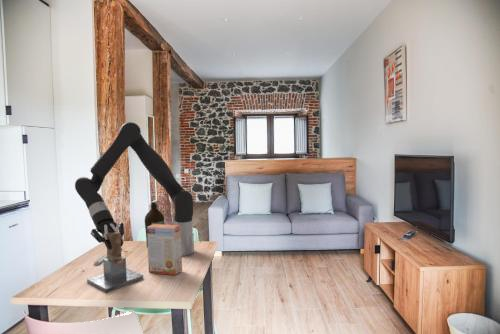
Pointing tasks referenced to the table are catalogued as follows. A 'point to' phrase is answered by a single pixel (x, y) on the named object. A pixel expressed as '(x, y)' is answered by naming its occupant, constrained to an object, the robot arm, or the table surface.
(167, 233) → the cracker box
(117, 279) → the stand
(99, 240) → the robot arm
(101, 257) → the adjustable wrench
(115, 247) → the post
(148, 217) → the olive oil
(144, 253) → the table surface
